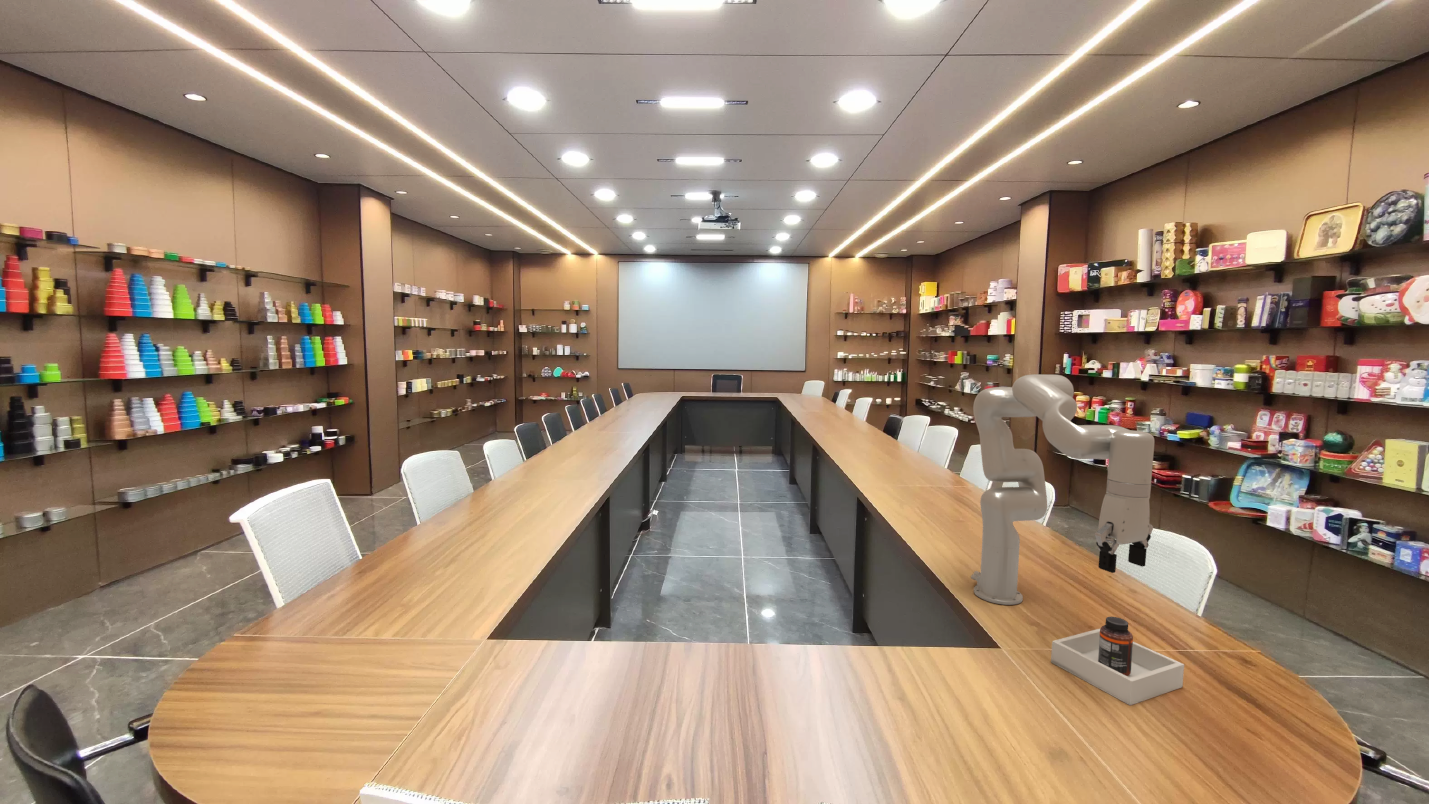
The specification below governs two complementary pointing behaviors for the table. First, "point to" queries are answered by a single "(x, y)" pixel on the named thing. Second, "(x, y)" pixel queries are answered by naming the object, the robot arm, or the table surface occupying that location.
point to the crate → (1144, 682)
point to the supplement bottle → (1116, 645)
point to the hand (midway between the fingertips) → (1121, 567)
